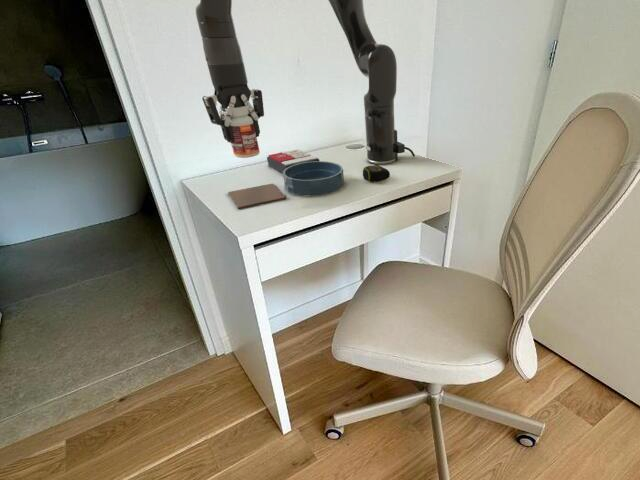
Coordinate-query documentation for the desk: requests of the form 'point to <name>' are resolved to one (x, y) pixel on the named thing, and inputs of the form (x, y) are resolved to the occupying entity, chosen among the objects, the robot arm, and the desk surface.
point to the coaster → (256, 196)
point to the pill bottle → (243, 133)
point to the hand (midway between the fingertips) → (243, 138)
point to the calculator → (289, 159)
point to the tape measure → (375, 173)
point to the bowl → (313, 178)
